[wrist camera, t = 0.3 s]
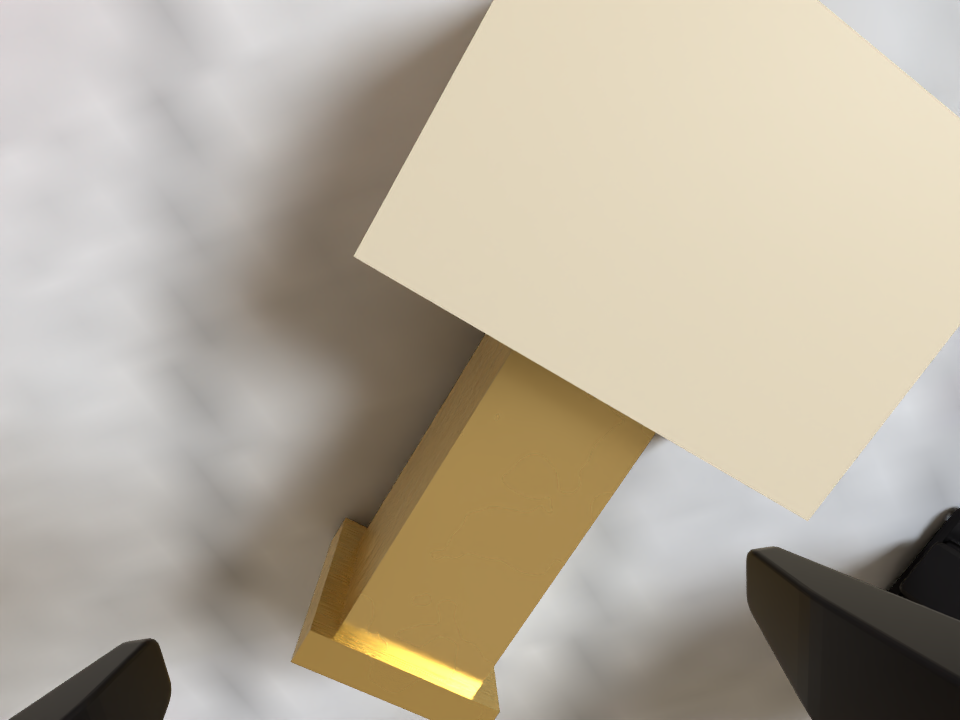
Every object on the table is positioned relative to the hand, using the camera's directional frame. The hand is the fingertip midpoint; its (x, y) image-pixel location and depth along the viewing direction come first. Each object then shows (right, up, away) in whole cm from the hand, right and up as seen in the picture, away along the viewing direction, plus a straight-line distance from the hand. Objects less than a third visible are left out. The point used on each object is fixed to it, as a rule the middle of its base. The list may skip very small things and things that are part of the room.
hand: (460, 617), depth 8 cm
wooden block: (+2, +2, +13) cm, 13 cm away
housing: (+5, +9, +12) cm, 15 cm away
